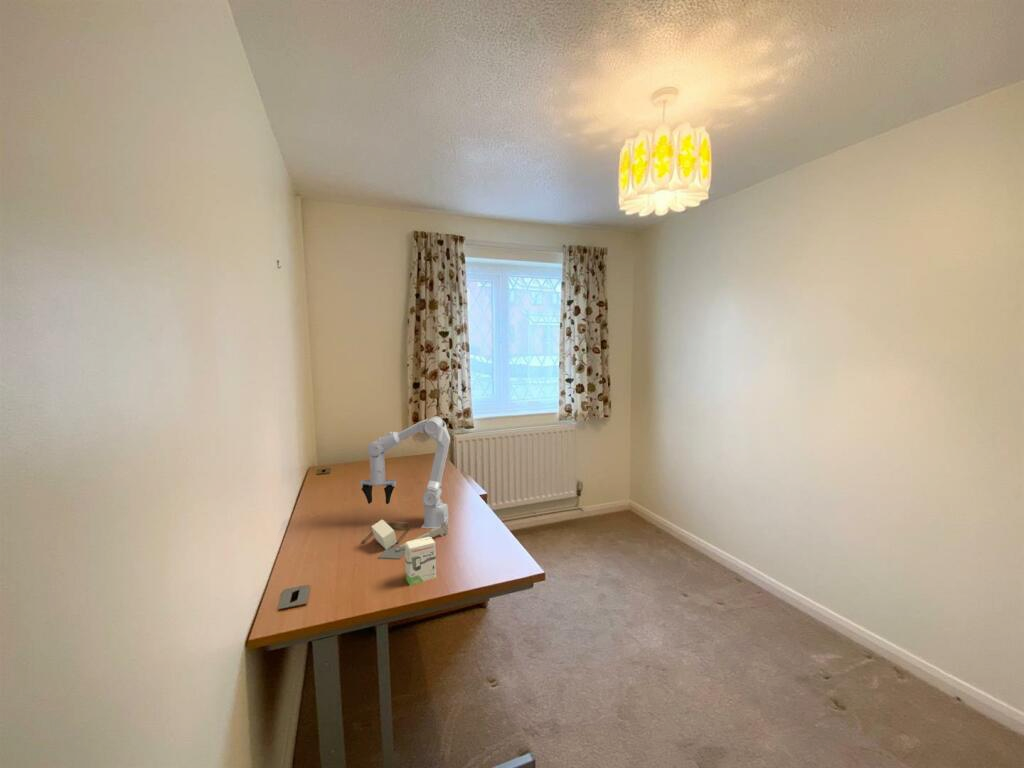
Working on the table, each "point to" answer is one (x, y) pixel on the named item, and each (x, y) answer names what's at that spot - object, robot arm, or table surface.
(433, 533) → the caliper
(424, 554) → the ink box
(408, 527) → the frame
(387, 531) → the cream tapered prism
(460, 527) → the table surface
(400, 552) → the mat
